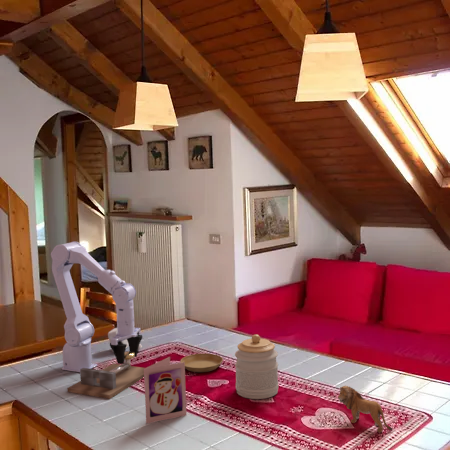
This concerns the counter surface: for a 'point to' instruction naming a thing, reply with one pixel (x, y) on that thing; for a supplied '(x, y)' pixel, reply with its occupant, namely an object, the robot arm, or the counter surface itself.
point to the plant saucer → (202, 362)
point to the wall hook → (114, 332)
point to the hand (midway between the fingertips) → (127, 359)
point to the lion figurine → (361, 406)
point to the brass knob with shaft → (125, 362)
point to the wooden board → (106, 381)
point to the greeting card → (165, 391)
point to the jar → (256, 368)
